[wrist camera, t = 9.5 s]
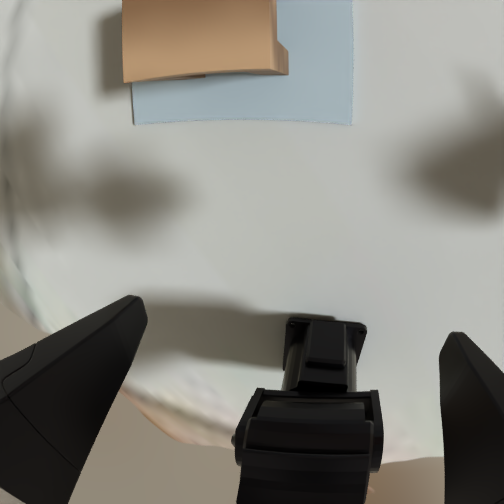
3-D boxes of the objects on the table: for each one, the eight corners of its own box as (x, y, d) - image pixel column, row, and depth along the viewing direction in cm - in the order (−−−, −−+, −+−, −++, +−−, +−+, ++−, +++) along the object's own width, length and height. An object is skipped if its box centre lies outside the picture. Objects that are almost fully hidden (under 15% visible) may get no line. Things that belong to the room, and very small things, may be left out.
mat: (350, 124, 17) (351, 125, 17) (137, 124, 20) (134, 124, 19) (347, -53, 11) (348, -55, 11) (134, -29, 14) (131, -31, 13)
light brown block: (288, 75, 16) (270, 68, 10) (183, 80, 17) (123, 82, 12) (286, -23, 13) (266, -69, 7) (181, -11, 14) (124, -39, 8)
